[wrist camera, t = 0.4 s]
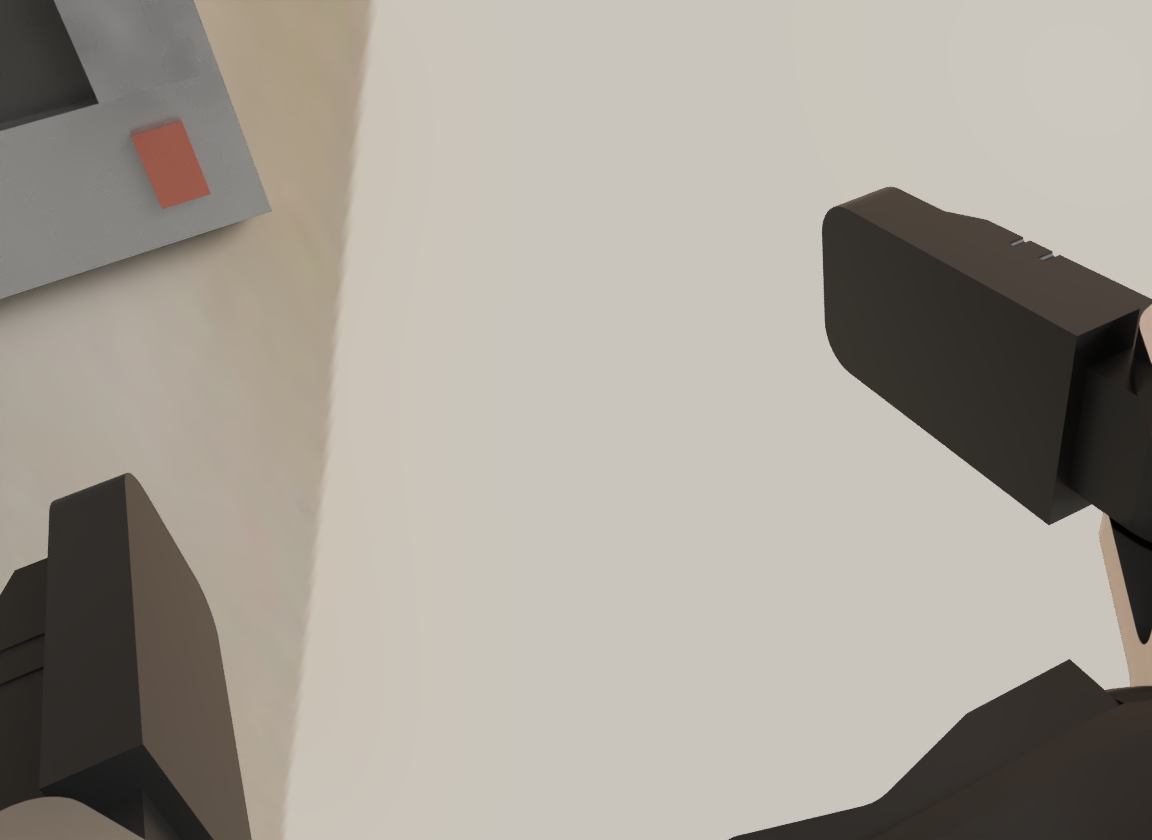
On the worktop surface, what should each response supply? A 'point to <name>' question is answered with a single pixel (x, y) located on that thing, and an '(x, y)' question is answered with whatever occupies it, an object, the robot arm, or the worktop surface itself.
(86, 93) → the socket
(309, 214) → the worktop surface
